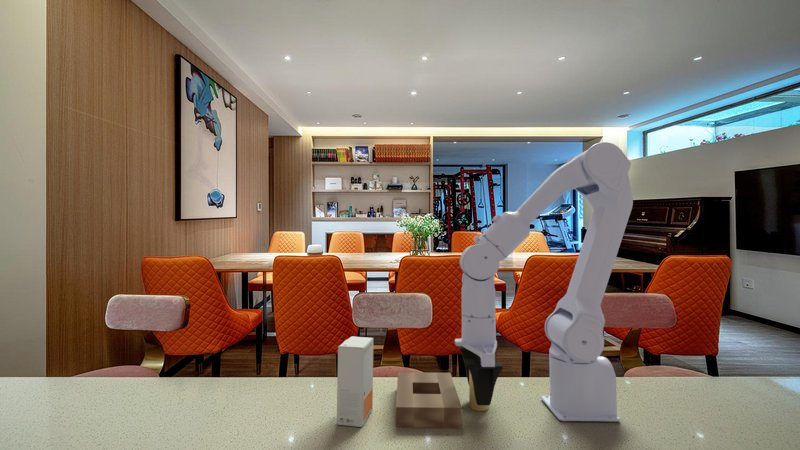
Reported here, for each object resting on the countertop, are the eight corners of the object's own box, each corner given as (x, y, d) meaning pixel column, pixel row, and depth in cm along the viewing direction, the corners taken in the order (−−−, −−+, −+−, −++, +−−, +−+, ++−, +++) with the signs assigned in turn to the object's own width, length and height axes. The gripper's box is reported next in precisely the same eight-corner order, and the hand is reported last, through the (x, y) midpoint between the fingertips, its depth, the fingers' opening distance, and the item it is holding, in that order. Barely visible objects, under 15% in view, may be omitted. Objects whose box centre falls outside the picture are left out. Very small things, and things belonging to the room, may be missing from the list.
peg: (486, 402, 62) (486, 361, 62) (490, 411, 59) (490, 368, 59) (468, 402, 62) (467, 361, 62) (471, 411, 59) (471, 368, 59)
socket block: (450, 388, 67) (450, 372, 67) (462, 428, 53) (461, 407, 53) (397, 388, 68) (397, 372, 68) (395, 427, 54) (395, 407, 54)
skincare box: (362, 428, 53) (363, 347, 54) (336, 425, 54) (336, 346, 55) (373, 409, 59) (374, 337, 60) (349, 407, 60) (350, 335, 61)
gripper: (449, 306, 68) (450, 377, 68) (461, 324, 54) (462, 415, 53) (486, 306, 68) (487, 378, 68) (508, 325, 54) (509, 416, 53)
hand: (478, 395), depth 60 cm, fingers open, 6 cm apart
